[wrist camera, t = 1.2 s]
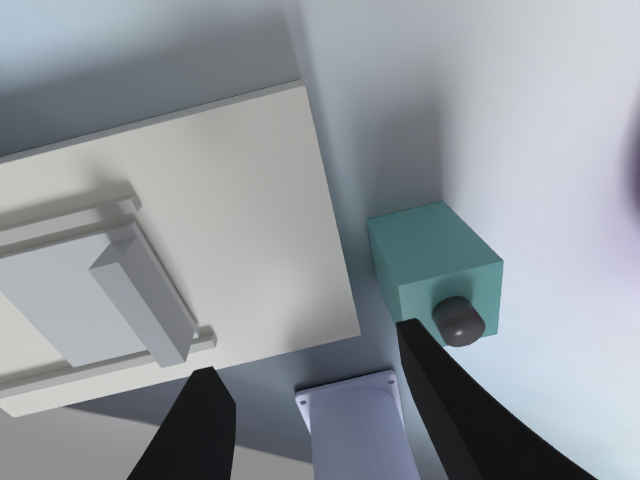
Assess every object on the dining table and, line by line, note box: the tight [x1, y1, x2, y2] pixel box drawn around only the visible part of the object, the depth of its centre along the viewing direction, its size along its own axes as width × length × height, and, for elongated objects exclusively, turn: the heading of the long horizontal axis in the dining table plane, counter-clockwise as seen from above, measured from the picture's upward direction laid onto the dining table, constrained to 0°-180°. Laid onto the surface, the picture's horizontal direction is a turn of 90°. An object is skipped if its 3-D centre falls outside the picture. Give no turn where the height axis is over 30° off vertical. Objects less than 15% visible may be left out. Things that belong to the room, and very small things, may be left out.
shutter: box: [0, 222, 200, 368], centre depth 15 cm, size 7×7×2 cm
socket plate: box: [0, 79, 361, 417], centre depth 17 cm, size 14×24×3 cm, turn 103°
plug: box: [367, 201, 504, 347], centre depth 17 cm, size 4×4×7 cm
